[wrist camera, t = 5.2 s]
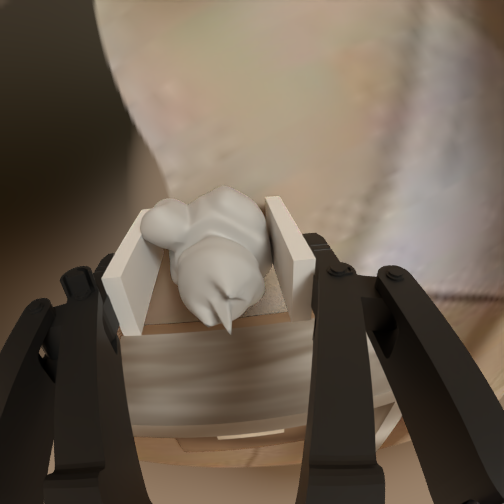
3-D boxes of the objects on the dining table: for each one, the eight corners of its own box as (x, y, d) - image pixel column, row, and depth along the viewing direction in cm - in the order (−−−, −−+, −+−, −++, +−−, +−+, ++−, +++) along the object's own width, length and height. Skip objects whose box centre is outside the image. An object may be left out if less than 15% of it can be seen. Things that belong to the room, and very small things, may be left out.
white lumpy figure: (237, 283, 18) (248, 394, 11) (137, 234, 16) (88, 334, 9) (289, 211, 16) (338, 303, 9) (181, 149, 14) (139, 201, 7)
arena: (124, 326, 19) (99, 422, 12) (372, 298, 20) (424, 379, 14) (184, 444, 29) (185, 503, 22) (334, 426, 30) (352, 481, 23)
